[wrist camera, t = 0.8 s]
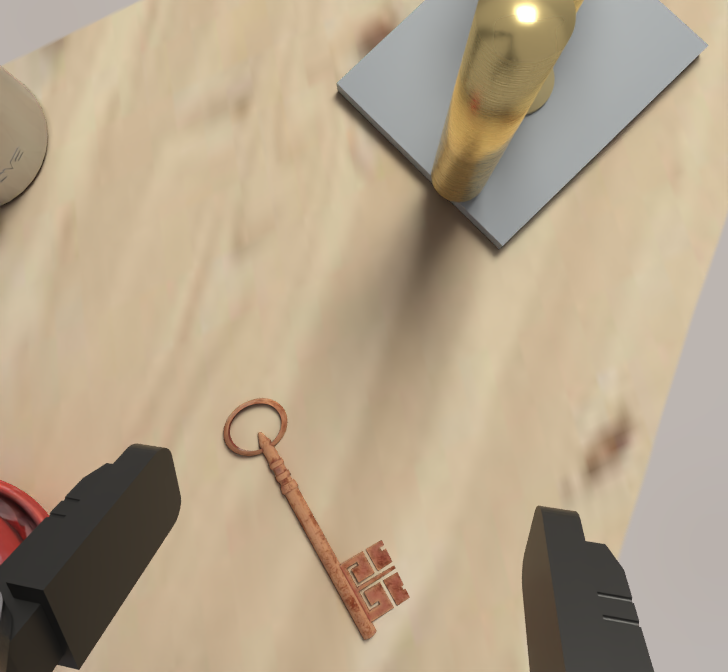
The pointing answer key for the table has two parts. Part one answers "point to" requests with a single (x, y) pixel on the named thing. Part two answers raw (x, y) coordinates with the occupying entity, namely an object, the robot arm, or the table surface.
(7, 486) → the plant pot
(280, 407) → the key
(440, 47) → the plate
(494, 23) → the latch handle
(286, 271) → the table surface
